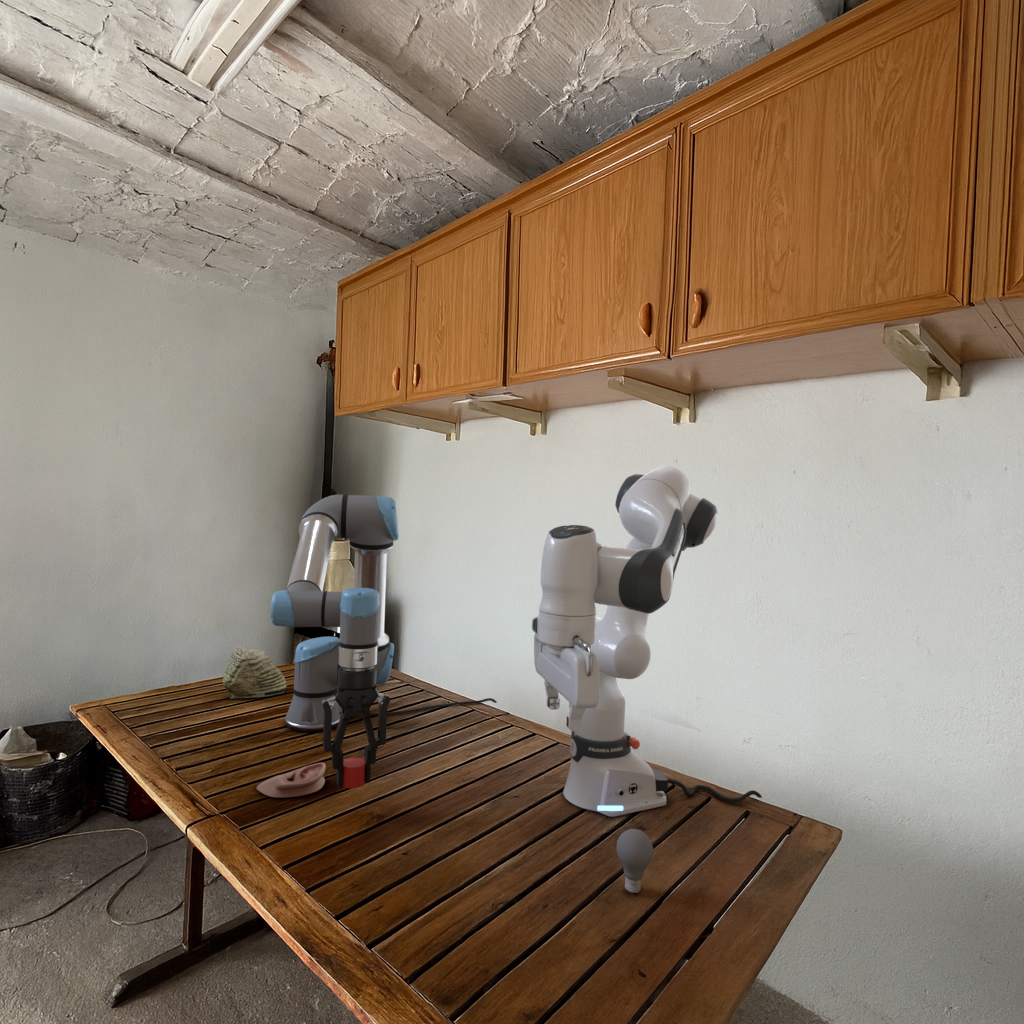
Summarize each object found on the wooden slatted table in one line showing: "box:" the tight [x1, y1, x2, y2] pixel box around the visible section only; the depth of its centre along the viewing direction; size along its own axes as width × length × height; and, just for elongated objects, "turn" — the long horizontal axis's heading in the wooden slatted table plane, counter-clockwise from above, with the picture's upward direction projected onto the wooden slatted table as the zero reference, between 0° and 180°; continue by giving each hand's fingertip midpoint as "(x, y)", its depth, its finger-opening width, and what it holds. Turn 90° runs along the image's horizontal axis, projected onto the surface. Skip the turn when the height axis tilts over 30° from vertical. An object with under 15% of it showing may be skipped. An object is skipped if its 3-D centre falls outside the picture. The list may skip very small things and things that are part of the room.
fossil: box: [222, 646, 288, 699], centre depth 198 cm, size 9×18×15 cm, turn 132°
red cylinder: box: [342, 757, 366, 789], centre depth 127 cm, size 5×5×4 cm
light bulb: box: [615, 828, 654, 894], centre depth 106 cm, size 6×6×10 cm
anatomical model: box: [256, 762, 327, 799], centre depth 137 cm, size 13×4×12 cm
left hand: (353, 781), depth 127 cm, fingers closed on red cylinder, 5 cm apart
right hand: (562, 718), depth 99 cm, fingers open, 8 cm apart
